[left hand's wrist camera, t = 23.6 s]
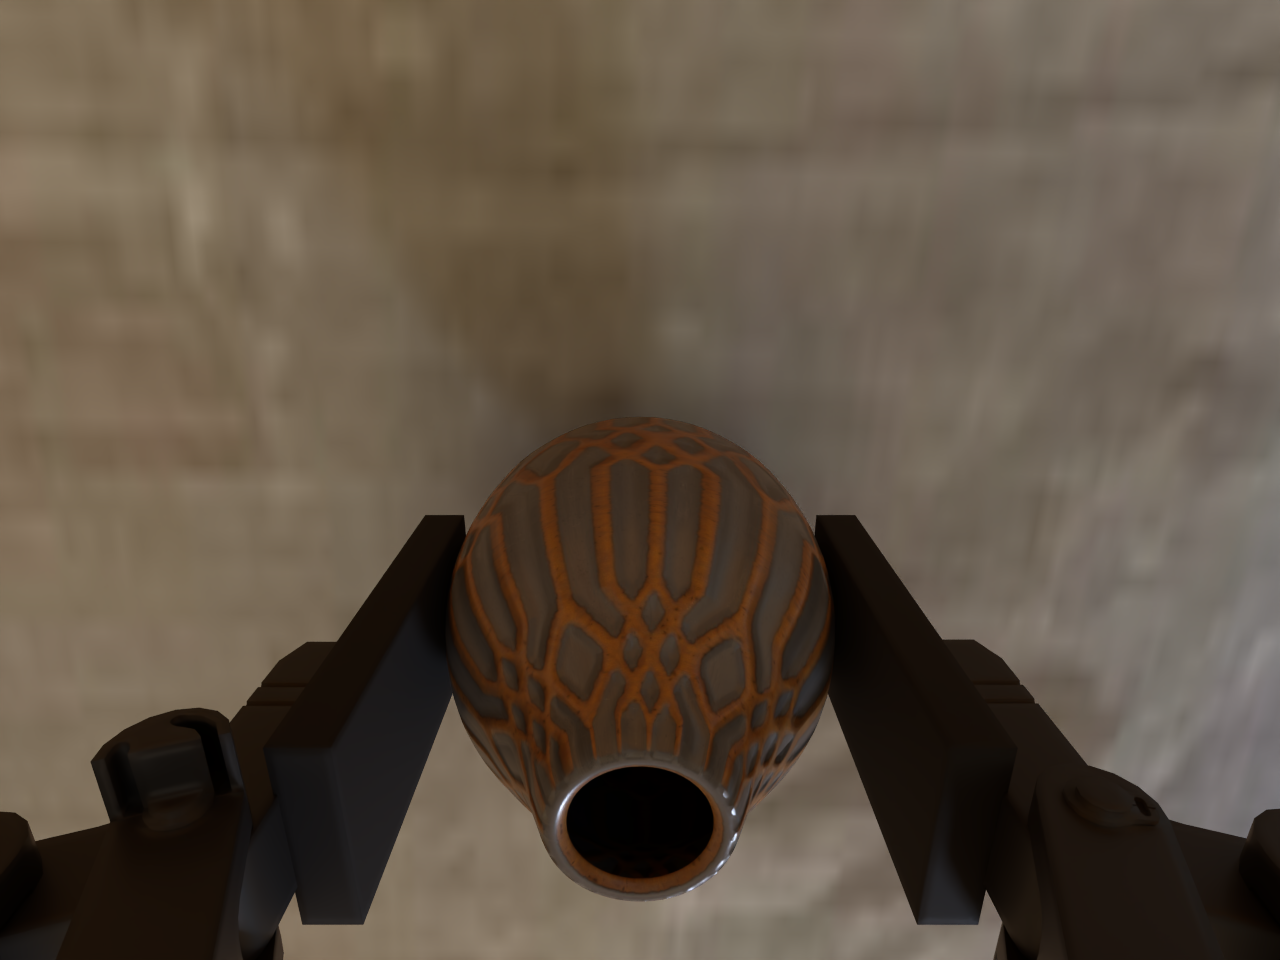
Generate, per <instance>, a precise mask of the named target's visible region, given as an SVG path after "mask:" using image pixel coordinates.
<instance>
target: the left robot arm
mask: <svg viewBox="0 0 1280 960" xmlns="http://www.w3.org/2000/svg"><path fill="white" fill-rule="evenodd" d="M465 537H466V532H465V521H464V515H425V516H424V518H423V519H422V521H421V522H420V524H419V525H418V526H417V528H416V529H415V531H414V532H413V534H412V535H411V537H410V538H409V539H408V541H407V542H406V544H405V545H404V547H403V548H402V549H401V551H400V552H399V554H398V555H397V557H396V558H395V559H394V561H393V562H392V564H391V565H390V567H389V568H388V569H387V571H386V572H385V574H384V575H383V577H382V578H381V579H380V581H379V582H378V584H377V585H376V587H375V588H374V589H373V591H372V592H371V594H370V595H369V597H368V598H367V599H366V601H365V602H364V604H363V605H362V607H361V608H360V609H359V611H358V612H357V614H356V615H355V617H354V618H353V619H352V621H351V622H350V624H349V625H348V627H347V628H346V630H345V631H344V632H343V634H342V635H341V637H340V638H339V640H338V641H337V642H306V643H305V644H303V645H302V646H300V647H299V648H297V649H296V650H294V651H293V652H291V653H290V654H288V655H287V656H285V657H284V658H283V659H281V660H280V661H279V662H278V663H277V664H276V665H275V667H274V668H273V669H272V670H271V672H270V673H269V674H268V675H267V677H266V678H265V679H264V680H263V682H262V685H261V687H258V688H257V689H256V690H255V692H254V693H253V694H252V695H251V697H250V698H249V699H248V700H247V705H246V706H243V707H242V708H241V709H240V710H239V712H238V713H237V714H236V715H235V717H234V718H233V719H232V720H231V722H230V723H229V719H227V718H226V717H225V716H223V715H222V714H221V713H220V712H218V711H215V710H209V709H204V708H191V709H180V710H174V711H170V712H167V713H163V714H160V715H156V716H153V717H149V718H147V719H145V720H143V721H141V722H139V723H137V724H135V725H133V726H131V727H129V728H127V729H124V730H123V731H122V732H120V733H119V734H118V735H116V736H115V737H114V738H112V739H111V740H110V741H108V742H107V743H106V744H104V745H103V746H102V748H101V749H100V750H99V751H98V753H97V754H96V755H95V757H94V758H93V759H92V760H91V765H92V768H93V771H94V774H95V777H96V780H97V783H98V786H99V789H100V792H101V795H102V798H103V801H104V804H105V807H106V810H107V813H108V816H109V819H110V823H109V824H106V825H102V826H99V827H95V828H91V829H86V830H82V831H78V832H73V833H69V834H65V835H60V836H56V837H52V838H47V839H43V840H39V841H35V840H34V837H33V834H32V832H31V829H30V827H29V824H28V821H27V820H25V819H24V818H22V817H21V816H19V815H18V814H16V813H12V812H0V960H283V954H284V952H283V946H282V939H281V934H280V930H279V926H278V925H279V923H280V921H281V919H282V917H283V915H284V913H285V911H286V909H287V907H288V905H289V903H290V901H291V899H292V897H293V895H294V893H296V898H297V902H298V907H299V911H300V916H301V920H302V925H363V924H364V921H365V919H366V916H367V914H368V911H369V908H370V906H371V903H372V901H373V898H374V895H375V893H376V890H377V888H378V885H379V882H380V880H381V877H382V875H383V872H384V870H385V867H386V864H387V862H388V859H389V857H390V854H391V851H392V849H393V846H394V844H395V841H396V838H397V836H398V833H399V831H400V828H401V825H402V823H403V820H404V818H405V815H406V813H407V810H408V807H409V805H410V802H411V800H412V797H413V794H414V792H415V789H416V787H417V784H418V781H419V779H420V776H421V774H422V771H423V769H424V766H425V763H426V761H427V758H428V756H429V753H430V750H431V748H432V745H433V743H434V740H435V737H436V735H437V732H438V730H439V727H440V724H441V722H442V719H443V717H444V714H445V712H446V709H447V706H448V704H449V701H450V699H451V696H452V693H453V692H452V688H451V683H450V677H449V671H448V665H447V655H446V638H445V627H446V607H447V598H448V592H449V587H450V582H451V578H452V573H453V569H454V566H455V563H456V559H457V556H458V554H459V552H460V549H461V547H462V544H463V542H464V540H465ZM815 538H816V541H817V543H818V545H819V548H820V550H821V553H822V555H823V557H824V561H825V564H826V567H827V570H828V575H829V580H830V584H831V589H832V594H833V602H834V612H835V650H834V661H833V669H832V675H831V680H830V686H829V690H828V695H829V697H830V700H831V702H832V705H833V708H834V710H835V713H836V715H837V718H838V721H839V723H840V726H841V728H842V731H843V734H844V736H845V739H846V741H847V744H848V747H849V749H850V752H851V754H852V757H853V759H854V762H855V765H856V767H857V770H858V772H859V775H860V778H861V780H862V783H863V785H864V788H865V791H866V793H867V796H868V798H869V801H870V803H871V806H872V809H873V811H874V814H875V816H876V819H877V822H878V824H879V827H880V829H881V832H882V835H883V837H884V840H885V842H886V845H887V847H888V850H889V853H890V855H891V858H892V860H893V863H894V866H895V868H896V871H897V873H898V876H899V879H900V881H901V884H902V886H903V889H904V891H905V894H906V897H907V899H908V902H909V904H910V907H911V910H912V912H913V915H914V917H915V920H916V923H917V925H978V923H979V918H980V914H981V909H982V905H983V900H984V896H985V892H986V890H987V892H988V894H989V896H990V898H991V900H992V902H993V904H994V906H995V908H996V910H997V912H998V914H999V916H1000V918H1001V920H1002V926H1001V930H1000V934H999V938H998V942H997V947H996V951H995V955H994V959H993V960H1280V809H1271V810H1266V811H1264V812H1263V813H1261V814H1260V815H1258V816H1257V817H1255V818H1254V821H1253V823H1252V826H1251V829H1250V831H1249V834H1248V836H1247V839H1246V838H1242V837H1238V836H1233V835H1229V834H1225V833H1220V832H1216V831H1212V830H1207V829H1203V828H1199V827H1194V826H1190V825H1186V824H1182V823H1178V822H1175V821H1172V820H1169V819H1168V818H1167V816H1166V815H1165V813H1164V812H1163V810H1162V809H1161V807H1160V806H1159V804H1158V803H1157V802H1156V801H1155V800H1153V799H1152V798H1151V797H1150V796H1149V795H1148V794H1146V793H1145V792H1144V791H1143V790H1142V789H1140V788H1139V787H1138V786H1136V785H1134V784H1132V783H1130V782H1129V781H1127V780H1125V779H1123V778H1121V777H1119V776H1118V775H1116V774H1114V773H1111V772H1107V771H1104V770H1101V769H1098V768H1095V767H1092V766H1088V765H1087V764H1086V763H1085V761H1084V760H1083V759H1082V758H1081V756H1080V755H1079V754H1078V753H1077V751H1076V750H1075V749H1074V748H1073V746H1072V745H1071V744H1070V743H1069V741H1068V740H1067V739H1066V738H1065V736H1064V735H1063V734H1062V733H1061V731H1060V730H1059V729H1058V728H1057V727H1056V725H1055V724H1054V723H1053V722H1052V720H1051V719H1050V718H1049V717H1048V715H1047V714H1046V713H1045V712H1044V710H1043V709H1042V708H1041V707H1040V705H1039V704H1035V702H1034V698H1033V697H1032V695H1031V694H1030V693H1029V692H1028V690H1027V689H1026V688H1025V687H1024V685H1020V680H1019V679H1018V678H1017V677H1016V675H1015V674H1014V673H1013V672H1012V670H1011V669H1010V668H1009V667H1008V665H1007V664H1006V663H1005V662H1004V660H1003V659H1002V658H1000V657H999V656H997V655H996V654H994V653H993V652H991V651H990V650H988V649H987V648H985V647H984V646H982V645H981V644H979V643H978V642H977V641H975V640H942V639H941V637H940V636H939V634H938V633H937V632H936V630H935V629H934V627H933V626H932V624H931V623H930V622H929V620H928V619H927V617H926V616H925V614H924V613H923V612H922V610H921V609H920V607H919V606H918V604H917V603H916V602H915V600H914V599H913V597H912V596H911V594H910V593H909V592H908V590H907V589H906V587H905V586H904V584H903V583H902V582H901V580H900V579H899V577H898V576H897V574H896V573H895V572H894V570H893V569H892V567H891V566H890V564H889V563H888V562H887V560H886V559H885V557H884V556H883V554H882V553H881V551H880V550H879V549H878V547H877V546H876V544H875V543H874V541H873V540H872V539H871V537H870V536H869V534H868V533H867V531H866V530H865V529H864V527H863V526H862V524H861V523H860V521H859V520H858V519H857V517H856V516H855V515H816V526H815Z"/></svg>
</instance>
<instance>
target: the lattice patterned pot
mask: <svg viewBox="0 0 1280 960" xmlns="http://www.w3.org/2000/svg"><path fill="white" fill-rule="evenodd" d="M445 638H446V655H447V665H448V671H449V677H450V683H451V688H452V692H453V696H454V699H455V702H456V705H457V708H458V711H459V714H460V717H461V720H462V722H463V725H464V727H465V729H466V731H467V733H468V735H469V737H470V739H471V741H472V742H473V744H474V746H475V748H476V749H477V751H478V753H479V754H480V756H481V757H482V759H483V760H484V762H485V763H486V764H487V766H488V767H489V768H490V769H491V771H492V772H493V773H494V774H495V776H496V777H497V778H498V779H499V780H500V781H501V782H502V783H503V785H504V786H505V787H506V788H507V789H508V790H509V791H510V792H511V793H512V794H513V795H514V796H515V797H516V798H517V799H518V800H519V801H520V802H521V803H522V804H523V805H524V806H525V807H526V808H527V809H528V810H529V811H530V812H531V813H532V814H533V816H534V819H535V822H536V824H537V827H538V830H539V833H540V836H541V838H542V841H543V843H544V846H545V848H546V850H547V852H548V854H549V855H550V857H551V859H552V860H553V862H554V863H555V864H556V865H557V867H558V868H559V869H560V870H561V871H562V872H563V873H564V874H565V875H566V876H567V877H569V878H570V879H571V880H573V881H574V882H575V883H577V884H578V885H580V886H582V887H584V888H585V889H588V890H590V891H592V892H594V893H597V894H599V895H602V896H606V897H609V898H614V899H619V900H626V901H655V900H662V899H667V898H671V897H675V896H678V895H681V894H684V893H686V892H688V891H691V890H693V889H695V888H697V887H698V886H700V885H702V884H703V883H705V882H706V881H708V880H709V879H710V878H712V877H713V876H714V875H715V874H716V873H717V872H718V871H719V870H720V869H721V868H722V867H723V866H724V864H725V863H726V862H727V860H728V859H729V857H730V856H731V854H732V852H733V850H734V848H735V846H736V844H737V841H738V839H739V836H740V833H741V830H742V828H743V825H744V822H745V819H746V817H747V814H748V813H749V812H750V811H751V810H752V809H753V808H755V807H756V806H757V805H758V804H759V803H760V802H761V801H762V800H763V799H764V798H765V797H766V796H767V795H768V794H769V793H770V792H771V790H772V789H773V788H774V787H775V786H776V785H777V784H778V783H779V782H780V781H781V780H782V779H783V777H784V776H785V775H786V774H787V773H788V771H789V770H790V769H791V768H792V766H793V765H794V764H795V763H796V761H797V760H798V758H799V757H800V755H801V754H802V752H803V750H804V749H805V747H806V745H807V743H808V742H809V740H810V738H811V736H812V734H813V733H814V730H815V728H816V726H817V724H818V721H819V719H820V716H821V713H822V710H823V707H824V704H825V701H826V698H827V694H828V690H829V686H830V680H831V675H832V669H833V661H834V650H835V612H834V602H833V594H832V589H831V584H830V580H829V575H828V570H827V567H826V564H825V561H824V557H823V555H822V553H821V550H820V548H819V545H818V543H817V541H816V538H815V536H814V534H813V532H812V530H811V528H810V526H809V524H808V522H807V520H806V519H805V517H804V515H803V514H802V512H801V511H800V509H799V507H798V506H797V504H796V503H795V501H794V500H793V498H792V497H791V496H790V494H789V493H788V492H787V490H786V489H785V488H784V487H783V485H782V484H781V483H780V482H779V481H778V480H777V479H776V477H775V476H774V475H773V474H772V473H771V472H770V471H769V470H768V469H767V468H766V467H765V466H764V465H763V464H762V463H761V462H760V461H758V460H757V459H756V458H755V457H753V456H752V455H751V454H749V453H748V452H747V451H745V450H744V449H742V448H741V447H739V446H738V445H736V444H734V443H732V442H730V441H729V440H727V439H725V438H723V437H721V436H719V435H717V434H715V433H713V432H711V431H708V430H706V429H703V428H701V427H698V426H695V425H692V424H688V423H684V422H681V421H675V420H670V419H663V418H655V417H626V418H617V419H610V420H605V421H600V422H596V423H593V424H589V425H586V426H583V427H580V428H577V429H575V430H572V431H570V432H568V433H566V434H563V435H561V436H559V437H558V438H556V439H554V440H552V441H550V442H548V443H547V444H545V445H543V446H542V447H540V448H539V449H537V450H536V451H534V452H533V453H531V454H530V455H529V456H527V457H526V458H525V459H524V460H522V461H521V462H520V463H519V464H518V465H517V466H516V467H515V468H514V469H512V470H511V472H510V473H509V474H508V475H507V476H506V477H505V478H504V479H503V480H502V482H501V483H500V484H499V485H498V486H497V487H496V489H495V490H494V491H493V493H492V494H491V495H490V496H489V498H488V499H487V501H486V502H485V504H484V505H483V507H482V508H481V510H480V512H479V513H478V515H477V516H476V518H475V520H474V521H473V523H472V525H471V527H470V529H469V531H468V533H467V535H466V537H465V540H464V542H463V544H462V547H461V549H460V552H459V554H458V556H457V559H456V563H455V566H454V569H453V573H452V578H451V582H450V587H449V592H448V598H447V607H446V627H445Z"/></svg>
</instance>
